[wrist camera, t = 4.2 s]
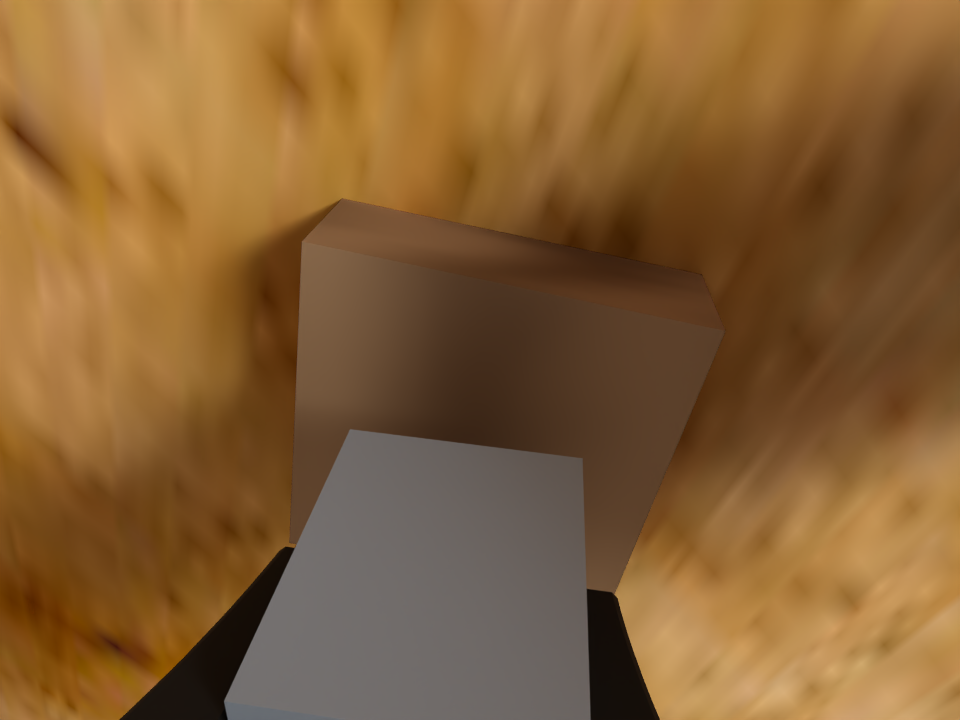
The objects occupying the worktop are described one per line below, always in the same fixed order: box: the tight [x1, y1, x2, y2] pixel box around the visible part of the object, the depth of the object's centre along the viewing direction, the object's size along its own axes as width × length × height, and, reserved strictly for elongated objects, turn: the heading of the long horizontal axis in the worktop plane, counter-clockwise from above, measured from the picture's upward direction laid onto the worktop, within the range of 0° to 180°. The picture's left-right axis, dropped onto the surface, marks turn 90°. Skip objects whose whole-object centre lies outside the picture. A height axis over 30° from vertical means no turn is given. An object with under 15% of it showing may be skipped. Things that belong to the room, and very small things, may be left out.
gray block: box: [224, 429, 591, 720], centre depth 10 cm, size 4×4×5 cm
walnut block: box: [289, 199, 725, 594], centre depth 16 cm, size 8×8×3 cm
